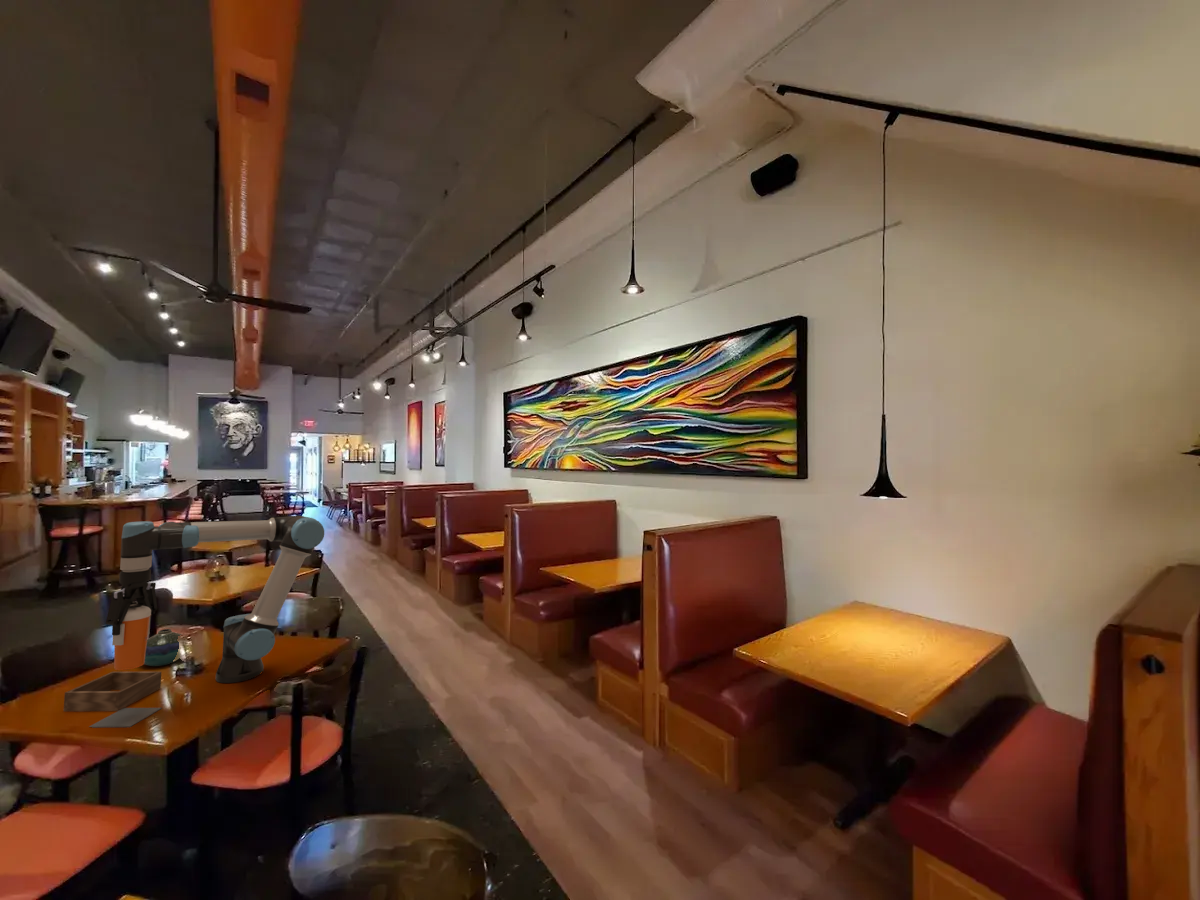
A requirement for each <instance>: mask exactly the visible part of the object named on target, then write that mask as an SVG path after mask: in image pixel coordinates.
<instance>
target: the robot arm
mask: <svg viewBox="0 0 1200 900" xmlns="http://www.w3.org/2000/svg"><path fill="white" fill-rule="evenodd" d="M324 537H325V528H324V526H323V524H322V522H320V521H319V520H317V519H315V518H314V517H310V516H303V515H290V516H281V517H280V516H279V517H270V518H269V519H267V520H264V519H263V520H231V521H230V520H228V521H227V520H224V521H220V520H219V521H194V522H193V521H192V522H191V521H190V522H187V521H185V522H175V521H168V522H163V523H161V524H159V526H155V524H154V522H153V521H130V522H126V523H125V524H124V525H123V526H122V533H121V541H120V542H121V543H120V566H119V567H120V568H119V570H121V571H120V572H119V575H118V577H119V579H118V582H119V584H120V585H121V588H120V589H119V590H117V591H115V590H114V591H112V592H111V594H110V595H111V601H110V605H109V609H108V611H107V617H106V619H105V624H106V625H109V626H110V625H111V630H112V631H111V636H112V644H111V645H112V646H114V645H123V644H124V628H125V624H122V622H123V620H124V618H125V616H126V613H127V611H128V609H129V606H130V604H131V603H132V602H135V601H134V600H136V602H137V603H144V605H142V606H147V607H149V608H150V609H151V616H150V620H149V628H148V636H149V635H150V631H151V630H150V629H151V623H152V622H151V621H152V615H155V613H156V611H157V610H158V602H157V595H156V582H154V581H153V582H150V581H151V578H152V574H151V573H152V569H150V568H152V566H153V565H152V561H153V560H152V559H153V551H157V550H158V551H159V550H168V549H169V550H171V549H187V548H193V547H196V546H197V545H198V544H199V543H208V542H209V543H210V542H211V543H213V542H233V541H234V542H235V541H236V542H237V541H254V540H268V542H280V544H279V548H280V550H281V552H280V554H279V555H278V558H277V560H276V562H275V564H274V566H273V569H272V570H271V573H270V575H269V576H268V579H267V581H266V583H265V584H264V587H263V590H262V591H261V593H260V595H259V597H258V599H257V602H256V603H255V605H254V608H253V610H252V611H251V613H246V614H245V613H244V614H238V615H235V616H234V615H233V616H230V617H228V618H227V617H226V619H225V620H224V623H223V638H222V639H223V642H222V658H221V661H220V663H219V665H218V667H217V670H216V673H215V681H216V682H217V683H222V684H233V683H239V682H245V681H248V679H249V680H251V678H252V679H254V678H256V677H255V676H257V675H259V674H260V673H261V672H262V671H263V672H264V663H263V661H262V658H264V657H265V656H266V655H268V654H269V653H270V652H271V651H272V649H274V645H275V643H276V636H275V633H276V631H277V629H278V626H279V624H280V623H279V622H278V617H279V614H280V612H281V610H282V608H283V605H284V604H285V602H286V599H287V597H288V595H289V593H290V591H291V589H292V587H293V585H294V582H295V580H296V578H297V576H298V573H299V571H300V570H301V567H302V565H303V563H304V562H305V559H306V558H307V557H310V556H312V554H313V552H314V549H315V548H316V547H317V546H319V545H320V544H321V543H322V542H323V540H324ZM118 619H119V621H118ZM260 675H261V674H260ZM260 675H259V676H260ZM253 677H254V678H253ZM257 677H258V676H257Z"/></svg>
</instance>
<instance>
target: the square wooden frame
mask: <svg viewBox="0 0 1200 900" xmlns="http://www.w3.org/2000/svg"><path fill="white" fill-rule="evenodd" d="M161 684H162V671H111V672H109V673H107V674H104V675H102V676H100V677H97V678H95V679H92V680H90V681H88V682H85V683H84V684H81V685H79V686H76V687H74V688H72V689H71V690H67V691H65V692H64V698H63V700H64V701H63V712H117V711H119V710H121V709H123V708H128V706H130V705H132V704H134V703H136V702H138V701H140V700H142V699H143V698H145V697H147V696H149V695H151V694H153V693H154V692H157V691H158V690H160V689H161V687H162V686H161Z"/></svg>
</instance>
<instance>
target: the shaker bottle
mask: <svg viewBox="0 0 1200 900" xmlns="http://www.w3.org/2000/svg"><path fill="white" fill-rule="evenodd" d="M142 605H144V603H138V601H137V600H136V601H133V602H132V603H131V604H130V606H129V609H128V611H127V613H126V616H125V618H124V620H123V622H122V624H125V628H124V644H123V645H113V646H114V651H113V652H114V654H113V655H114V659H113V661H114V662H113V663H114V665H113V666H114V667H113V668H114V670H116V671H127V670H132V669H135V668H140V667H142V666H143V665H145V664H144V662H145V653H146V645H147V639H148V636H149V635H148V628H149V620H150V616H151V617H152V614H151V609H150V608H149V607H147V606H142ZM118 621H119V619H118Z"/></svg>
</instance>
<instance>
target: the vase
mask: <svg viewBox="0 0 1200 900" xmlns="http://www.w3.org/2000/svg"><path fill="white" fill-rule="evenodd" d="M180 635H182V633H178V632H175V631H173V630H172V629H171V628H164V629H161V630H158V631H157V633H156V634H154V635H152V636H150V637H149V638H147V645H146V653H145V662H144V664H143V665H145V666H148V667H163V666H168V665H171V664H173V663H174V662H173V660H174V659H175V657H176V655H177V652H178V649H179V642H178V641H177V639H178V636H180ZM172 662H173V663H172ZM170 663H171V664H170Z"/></svg>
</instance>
